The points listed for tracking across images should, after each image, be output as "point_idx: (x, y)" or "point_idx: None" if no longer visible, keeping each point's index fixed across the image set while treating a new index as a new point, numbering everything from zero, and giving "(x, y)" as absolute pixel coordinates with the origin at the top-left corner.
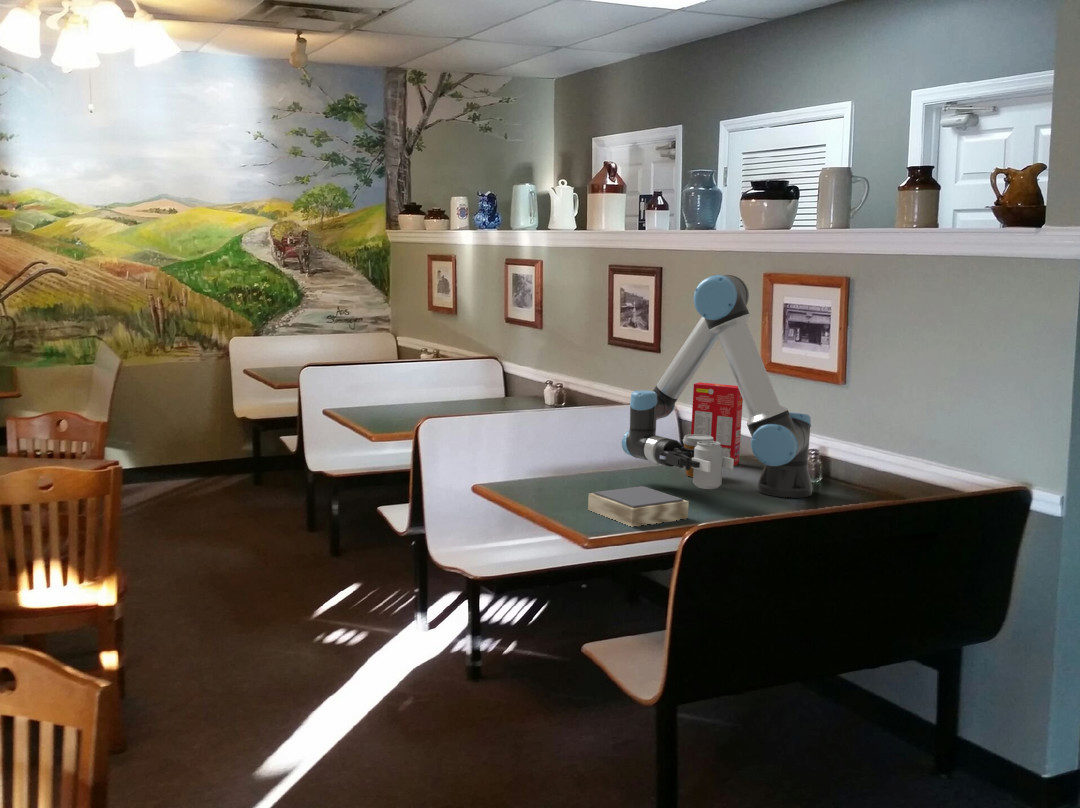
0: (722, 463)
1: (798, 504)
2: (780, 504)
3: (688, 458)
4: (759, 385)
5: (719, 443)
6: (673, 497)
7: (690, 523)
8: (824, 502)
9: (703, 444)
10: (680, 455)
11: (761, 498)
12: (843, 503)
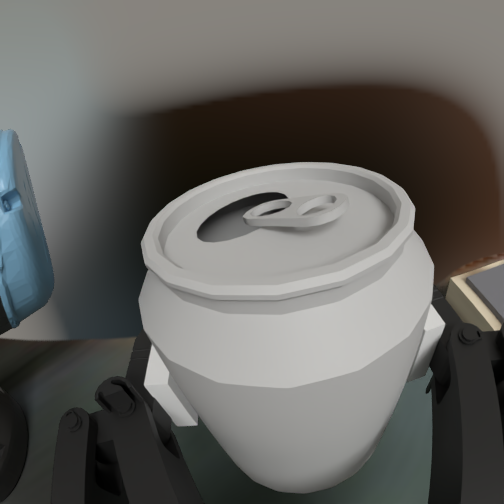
0: None
1: (58, 368)
2: (83, 385)
3: (469, 324)
4: None
5: (195, 193)
6: (492, 291)
7: (439, 289)
8: (18, 358)
9: (371, 172)
10: (501, 480)
11: None
12: (11, 342)
